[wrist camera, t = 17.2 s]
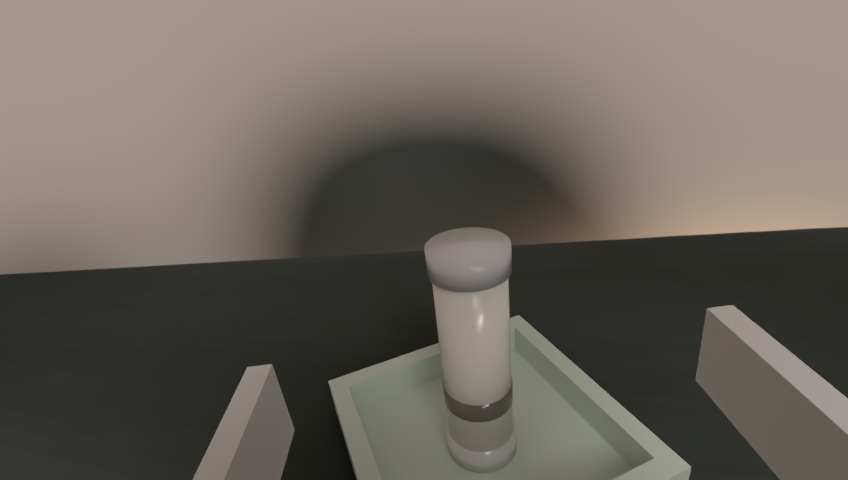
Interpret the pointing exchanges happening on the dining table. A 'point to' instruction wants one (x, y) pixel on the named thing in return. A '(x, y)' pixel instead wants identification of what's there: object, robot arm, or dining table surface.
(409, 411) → the parts tray
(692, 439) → the dining table surface
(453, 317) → the fuse
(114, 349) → the dining table surface
